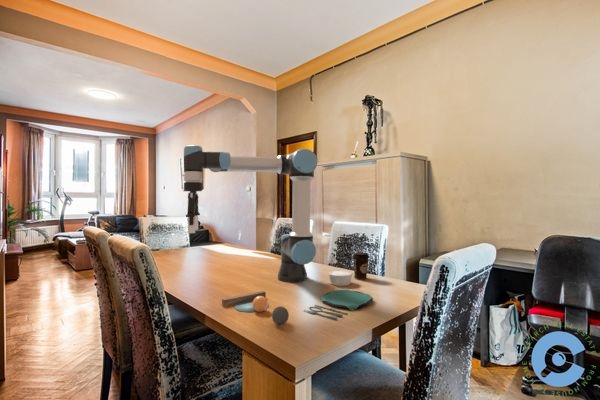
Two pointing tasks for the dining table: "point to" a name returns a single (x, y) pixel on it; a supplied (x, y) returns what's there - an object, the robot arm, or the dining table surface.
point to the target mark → (246, 306)
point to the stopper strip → (242, 298)
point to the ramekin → (340, 278)
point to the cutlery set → (342, 302)
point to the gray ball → (280, 315)
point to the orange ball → (260, 303)
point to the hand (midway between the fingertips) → (193, 231)
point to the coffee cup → (360, 265)
